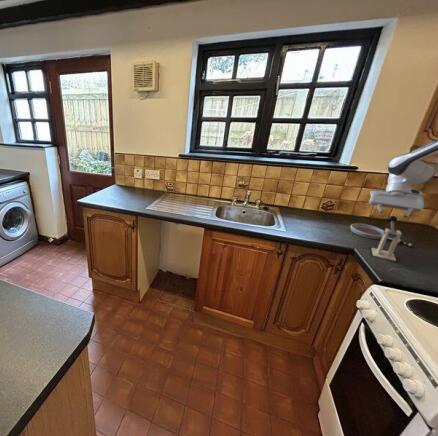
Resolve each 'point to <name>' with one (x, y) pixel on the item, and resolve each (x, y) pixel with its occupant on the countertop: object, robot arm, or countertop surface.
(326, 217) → the countertop surface
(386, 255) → the white stand
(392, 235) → the stove lever
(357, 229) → the frying pan
